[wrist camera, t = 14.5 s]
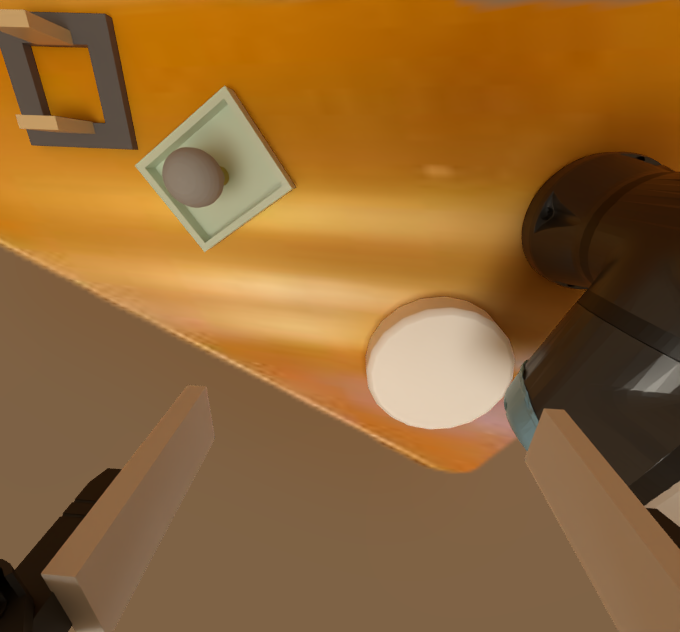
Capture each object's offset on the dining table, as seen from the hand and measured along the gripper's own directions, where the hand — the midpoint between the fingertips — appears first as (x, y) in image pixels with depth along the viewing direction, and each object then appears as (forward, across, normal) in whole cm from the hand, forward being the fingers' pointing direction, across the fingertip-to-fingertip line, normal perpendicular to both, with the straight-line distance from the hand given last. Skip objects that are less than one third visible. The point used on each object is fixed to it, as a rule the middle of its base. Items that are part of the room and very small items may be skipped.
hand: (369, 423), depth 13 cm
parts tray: (+32, -17, +7) cm, 37 cm away
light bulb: (+31, -17, +7) cm, 37 cm away
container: (+32, +12, -16) cm, 38 cm away
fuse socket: (+32, -33, +16) cm, 49 cm away
